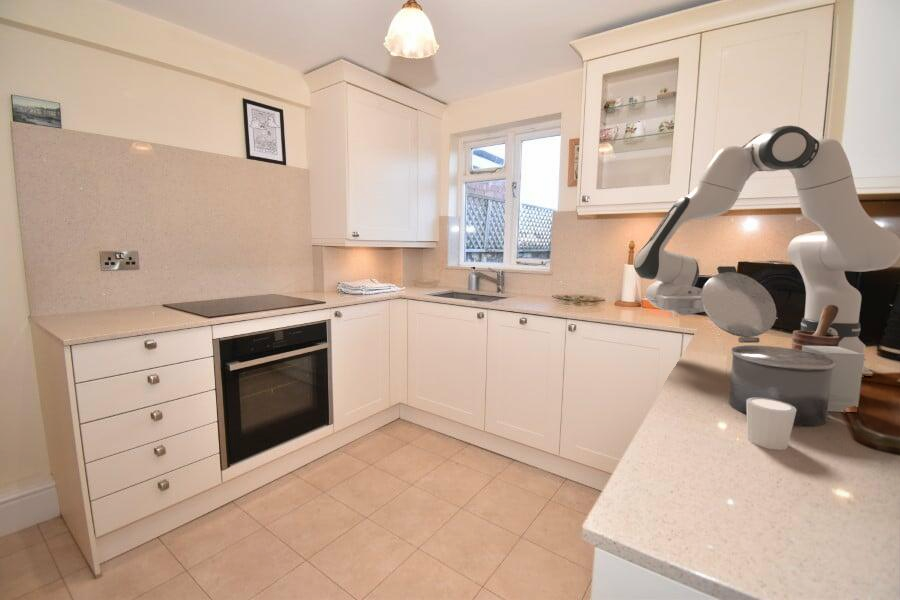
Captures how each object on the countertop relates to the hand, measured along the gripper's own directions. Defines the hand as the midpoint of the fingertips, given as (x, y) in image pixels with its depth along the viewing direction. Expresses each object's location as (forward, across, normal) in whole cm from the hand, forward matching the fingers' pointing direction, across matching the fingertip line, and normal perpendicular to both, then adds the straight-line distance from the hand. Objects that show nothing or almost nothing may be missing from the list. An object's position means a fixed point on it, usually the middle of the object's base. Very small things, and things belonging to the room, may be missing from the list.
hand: (713, 306), depth 105 cm
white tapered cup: (+36, -13, +19) cm, 43 cm away
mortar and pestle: (+5, +23, +19) cm, 31 cm away
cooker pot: (+22, 0, +19) cm, 29 cm away
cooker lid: (+9, 0, -2) cm, 10 cm away
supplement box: (+20, +13, +19) cm, 31 cm away
